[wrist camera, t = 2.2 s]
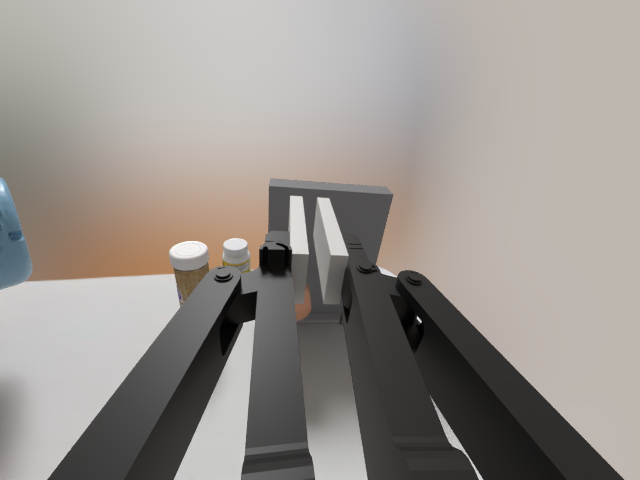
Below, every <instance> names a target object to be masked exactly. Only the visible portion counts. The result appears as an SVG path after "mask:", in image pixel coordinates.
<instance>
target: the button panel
mask: <svg viewBox="0 0 640 480" xmlns="http://www.w3.org/2000/svg"><path fill="white" fill-rule="evenodd" d="M290 196H302V197H303V206H304V215H305V224H306V233H307V242H308V251H309V258H308V268H307V278H306V283H307V284H308V286H309V289H310V299H311V311H310V313H309V314H308V316H306V317H305V318H304V319H302V320H299V321H296V322H297V323H339V321H340V315H341V310H342V305H343V301H342V296H341V299H340V304H324V303H323V297H322V290H321V284H320V277H319V270H318V264H317V257H316V251H315V244H314V238H313V233H314V223H315V214H316V204H317V197H319V198H329V199H330V202H331V205H332V208H333V211H334V214H335V217H336V220H337V223H338V226H339V229H340V232H341V233H346V234H354V235H355V236H357V237H358V238H359V239H360V242H361V245H362V246H363V249H364V251H365V253H366V255H367V258H368V260H369V262H371V263H373V264H375V265H376V261H377V257H378V253H379V249H380V245H381V241H382V237H383V233H384V229H385V225H386V221H387V217H388V214H389V210H390V205H391V202H392V198H393V194H392V193H391V192H390V190H389V189H388V188H387V187H380V186H367V185H353V184H339V183H325V182H312V181H311V182H310V181H298V180H284V179H270V184H269V229H268V233H269V232H270V231H288V227H289V208H290ZM342 323H343V320H342Z"/></svg>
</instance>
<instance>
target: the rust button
mask: <svg viewBox="0 0 640 480" xmlns="http://www.w3.org/2000/svg"><path fill="white" fill-rule="evenodd" d="M295 311H296V321H299V320H302V319H304V318H305V317H306V316H308V314H309V313H310V311H311V299H310V289H309V286H308V284H307V283H306V288H305V297H304V304H295Z"/></svg>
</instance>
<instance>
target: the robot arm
mask: <svg viewBox="0 0 640 480" xmlns="http://www.w3.org/2000/svg"><path fill="white" fill-rule="evenodd" d="M313 238H314V244H315V251H316V257H317V264H318V270H319V277H320V284H321V290H322V297H323V303H324V304H340V299H341V296H342V301H343V305H342V310H341V315H340V321H339V324H342V320H343V325H344V331H345V338H346V344H347V350H348V357H349V363H350V369H351V376H352V382H353V388H354V395H355V401H356V407H357V414H358V420H359V426H360V433H361V439H362V445H363V452H364V458H365V464H366V471H367V477H368V480H479V479H478V477H477V475H476V472H475V470H474V468H473V466H472V465H471V463H470V461H469V459H468V457H467V456H466V455H465V454H464V453H463V452H462V451H461V450H459V449H457V448H454V447H452V445H451V444H450V443H449V441H448V439H447V437H446V435H445V433H444V430H443V428H442V425H441V423H440V420H439V417H438V415H437V412H436V410H435V407H434V405H433V402H432V400H431V397H432V399H433V401H434V402H435V404H436V405H437V407H438V408H439V410H440V412H441V413H442V415H443V416H444V418H445V419H446V421H447V423H448V424H449V426H450V427H451V429H452V430H453V432H454V434H455V435H456V437H457V438H458V440H459V442H460V443H461V445H462V446H463V448H464V449H465V451H466V453H467V454H468V456H469V457H470V459H471V460H472V462H473V464H474V465H475V467H476V468H477V470H478V472H479V473H480V475H481V476H482V478H483V479H484V480H624V479H623V478H622V477H621V476H620V475H619V474H618V473H617V472H616V471H615V470H614V469H613V468H612V467H611V466H610V465H609V464H608V463H607V462H606V461H605V460H604V459H603V458H602V457H601V455H599V454H598V452H596V450H595V449H594V448H593V447H591V445H590V444H589V443H588V442H587V441H586V440H585V439H584V438H583V437H582V436H581V435H580V434H579V433H578V432H577V431H576V430H575V429H574V428H573V427H572V426H571V425H570V424H569V423H568V422H567V421H566V420H565V419H564V418H563V417H562V416H561V415H560V414H559V413H558V412H557V411H556V410H555V409H554V408H553V407H552V406H551V404H550V403H549V402H547V400H546V399H545V398H544V397H543V396H542V395H541V394H540V393H539V392H538V391H537V390H536V389H535V388H534V387H533V386H532V385H531V384H530V383H529V382H528V381H527V380H526V379H525V378H524V377H523V376H522V375H521V374H520V373H519V372H518V371H517V370H516V369H515V368H514V367H513V366H512V365H511V364H510V363H509V362H508V361H507V360H506V359H505V358H504V357H503V356H502V354H501V353H500V352H499V351H497V350H496V348H495V347H494V346H493V345H491V344H490V342H489V341H488V340H487V339H486V338H485V337H484V336H483V335H482V334H481V333H480V332H479V331H478V330H477V329H476V328H475V327H474V326H473V325H472V324H471V323H470V322H469V321H468V320H467V319H466V318H465V317H464V316H463V315H462V314H461V313H460V312H459V311H458V310H457V309H456V308H455V307H454V306H453V305H452V304H451V303H450V301H449V300H448V299H447V298H446V297H445V296H443V294H442V293H441V292H440V291H439V290H438V289H437V288H436V287H435V286H434V285H433V284H432V283H431V282H430V281H429V280H428V279H427V278H426V277H425V276H423V275H422V274H419V273H418V272H415V271H410V270H409V271H408V270H405V271H401V272H400V273H399V274H398V277H397V278H396V277H392V276H387V275H384V274H381V272H380V269H379V268H378V267H377V266H376V265H375V264H373V263H371V262H369V260H368V258H367V255H366V253H365V251H364V249H363V246H362V245H361V242H360V239H359V238H358V237H357V236H355V235H354V234H346V233H341V232H340V229H339V226H338V223H337V220H336V217H335V214H334V211H333V208H332V205H331V202H330V199H329V198H319V197H317V204H316V214H315V223H314V233H313ZM259 251H260V252H259V259H260V261H259V263H260V264H259V267H258V268H257V269H255V270H253V271H250V272H247V273H240V271H239V270H238V269H237V268H235V267H232V266H220V267H216V268H214V269H211V270H210V271H209V272H208V273H207V274H206V275H205V276H204V278H203V279H202V280H201V281H200V283H199V284H198V285H197V287H196V288H195V289H194V290H193V292H192V293H191V294H190V296H189V297H188V298H187V300H186V301H185V302H184V303H183V305H182V306H181V307H180V309H179V310H178V311H177V312H176V314H175V315H174V316H173V318H172V319H171V320H170V322H169V323H168V324H167V325H166V327H165V328H164V329H163V331H162V332H161V333H160V334H159V336H158V337H157V338H156V340H155V341H154V342H153V344H152V345H151V346H150V347H149V349H148V350H147V351H146V353H145V354H144V355H143V356H142V358H141V359H140V360H139V362H138V363H137V364H136V366H135V367H134V368H133V369H132V371H131V372H130V373H129V375H128V376H127V377H126V378H125V380H124V381H123V382H122V384H121V385H120V386H119V388H118V389H117V390H116V391H115V393H114V394H113V395H112V397H111V398H110V399H109V400H108V402H107V403H106V404H105V406H104V407H103V408H102V410H101V411H100V412H99V413H98V415H97V416H96V417H95V419H94V420H93V421H92V422H91V424H90V425H89V426H88V428H87V429H86V430H85V432H84V433H83V434H82V435H81V437H80V438H79V439H78V441H77V442H76V443H75V444H74V446H73V447H72V448H71V450H70V451H69V452H68V454H67V455H66V456H65V457H64V459H63V460H62V461H61V463H60V464H59V465H58V466H57V468H56V469H55V470H54V472H53V473H52V474H51V476H50V477H49V478H48V479H47V480H174V477H175V475H176V473H177V471H178V469H179V466H180V464H181V462H182V460H183V457H184V455H185V453H186V451H187V449H188V446H189V444H190V442H191V440H192V437H193V435H194V433H195V431H196V429H197V426H198V424H199V422H200V420H201V417H202V415H203V413H204V411H205V409H206V406H207V404H208V402H209V400H210V397H211V395H212V393H213V391H214V389H215V386H216V384H217V382H218V380H219V377H220V375H221V373H222V371H223V368H224V366H225V364H226V362H227V360H228V357H229V355H230V353H231V351H232V348H233V346H234V344H235V342H236V340H237V337H238V335H239V333H240V331H241V328H242V326H243V323H244V322H248V321H252V320H255V330H254V343H253V356H252V369H251V382H250V395H249V408H248V421H247V434H246V447H245V457H244V462H243V467H242V474H241V480H315V475H314V467H313V461H312V457H311V455H310V453H309V449H308V440H307V430H306V419H305V408H304V397H303V387H302V376H301V365H300V354H299V344H298V333H297V322H296V311H295V304H304V297H305V288H306V278H307V268H308V258H309V251H308V242H307V233H306V224H305V215H304V206H303V197H302V196H290V208H289V227H288V231H270V232H269V233H268V234H267V235H266V239H265V243H264V244H263V245H262V246H261V247H260V249H259ZM31 273H32V262H31V258H30V254H29V250H28V247H27V244H26V241H25V238H24V235H23V233H22V228H21V225H20V221H19V217H18V214H17V211H16V208H15V205H14V202H13V200H12V197H11V194H10V191H9V189H8V186H7V184H6V182H5V181H4V179H2V178H0V290H1V289H4V288H8V287H11V286H14V285H17V284H20V283H22V282H24V281H25V280H27V279H28V278H29V276H30V275H31ZM417 316H418V317H419V318H420V320H421V321H422V323H420V322H419V321H418V320H417V319H416V318H417ZM429 394H430V395H429ZM430 396H431V397H430Z"/></svg>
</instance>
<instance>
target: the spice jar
mask: <svg viewBox="0 0 640 480" xmlns="http://www.w3.org/2000/svg"><path fill="white" fill-rule="evenodd" d="M169 256H170V262H171V265H172V267H173V268H174V272H175V278H176V283H177V291H178V296H179V302H180V307H181V306H182V305H183V303H184V302H185V301H186V300H187V298H188V297H189V296H190V294H191V293H192V292H193V290H194V289H195V288H196V287H197V285H198V284H199V283H200V281H201V280H202V279H203V278H204V276H205V275H206V274H207V273H208V272H209V267H208V260H209V255H208V248H207V246H206V245H205V244H203V243H201V242H197V241H186V242H182V243H179V244H177V245H175V246H173V247H172V248H171V250H170V252H169Z"/></svg>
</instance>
